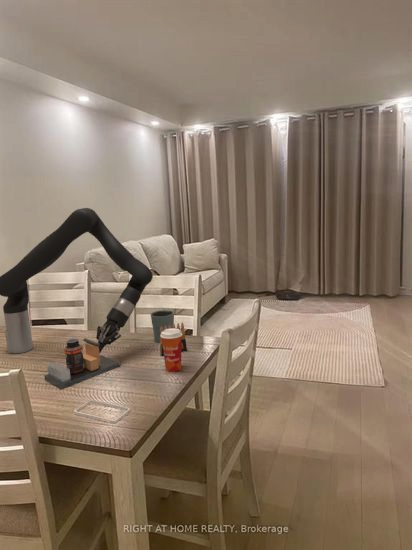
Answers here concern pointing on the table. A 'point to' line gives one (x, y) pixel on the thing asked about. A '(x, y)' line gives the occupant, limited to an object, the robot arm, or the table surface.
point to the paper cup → (172, 349)
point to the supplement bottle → (74, 356)
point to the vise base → (64, 378)
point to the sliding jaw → (91, 355)
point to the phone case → (101, 417)
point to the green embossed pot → (161, 322)
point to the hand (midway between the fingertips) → (96, 352)
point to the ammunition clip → (183, 340)
